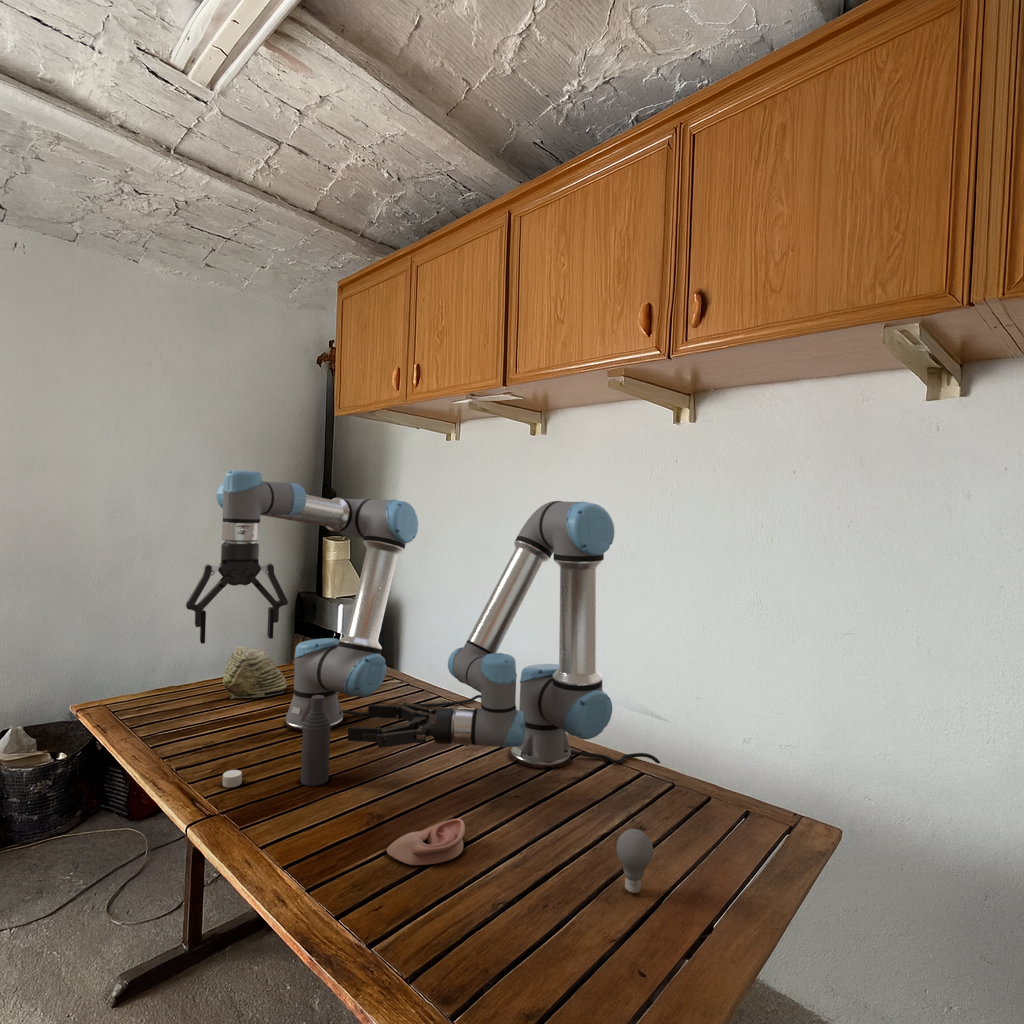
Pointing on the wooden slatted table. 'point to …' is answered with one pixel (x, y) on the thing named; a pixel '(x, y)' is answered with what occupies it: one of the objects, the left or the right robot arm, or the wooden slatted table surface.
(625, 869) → the light bulb
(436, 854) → the anatomical model
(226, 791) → the wooden slatted table surface
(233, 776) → the cap
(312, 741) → the bottle
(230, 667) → the fossil
